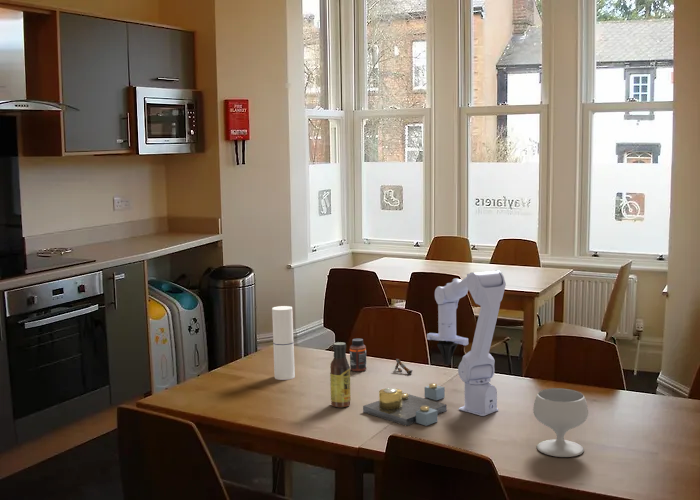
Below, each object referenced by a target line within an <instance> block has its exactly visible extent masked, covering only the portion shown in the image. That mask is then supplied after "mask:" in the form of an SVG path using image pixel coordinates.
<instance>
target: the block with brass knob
mask: <svg viewBox="0 0 700 500" xmlns="http://www.w3.org/2000/svg"><path fill="white" fill-rule="evenodd" d="M438 416H439V414H438V410H435V409H431V408H429V406H421V407H420V410H418V411H416V424H419V425H423V426H430V425H432V424H434V423H437V422H438V420H439V419H438Z"/></svg>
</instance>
